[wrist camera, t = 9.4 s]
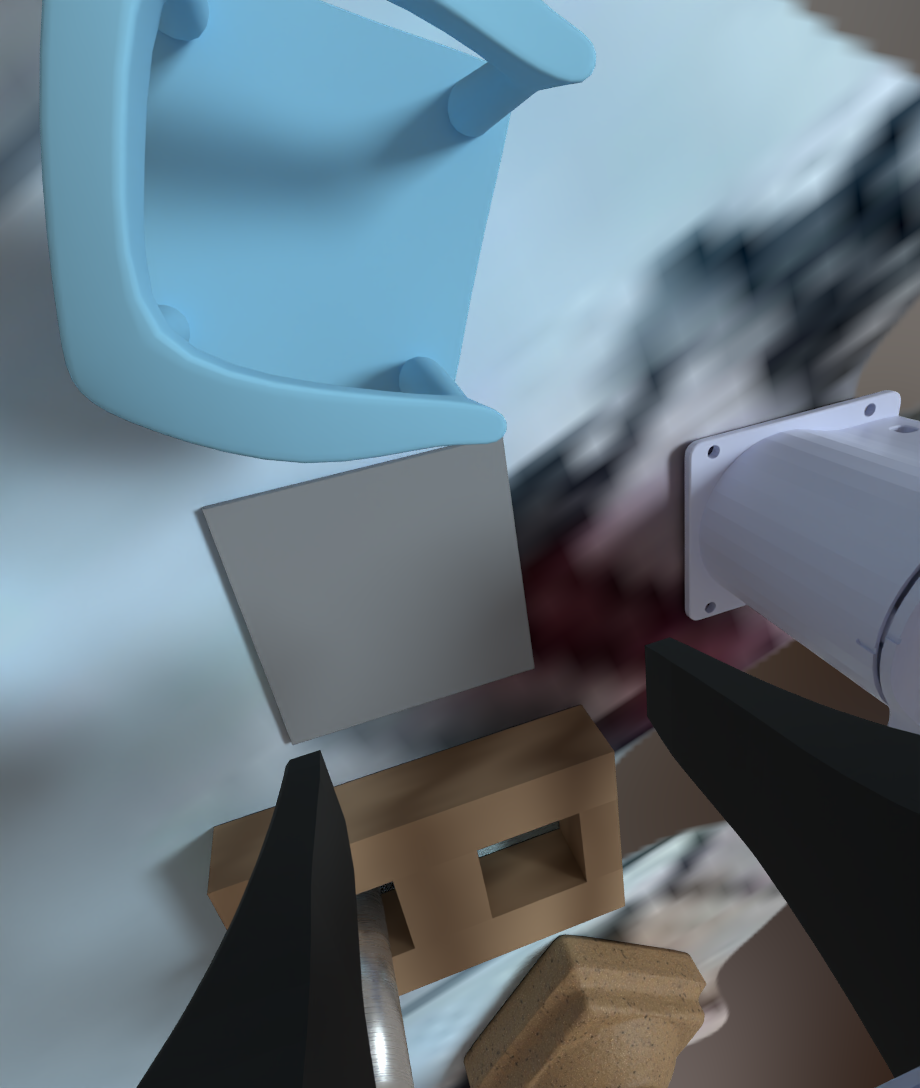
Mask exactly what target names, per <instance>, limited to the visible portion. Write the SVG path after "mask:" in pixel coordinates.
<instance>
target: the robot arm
mask: <svg viewBox="0 0 920 1088" xmlns="http://www.w3.org/2000/svg"><path fill="white" fill-rule="evenodd" d="M900 403H901V397H900V395H899V393H897V392H895V391H890V390H885V391H881V392H877V393H874V394H870V395H866V396H862V397H858V398H854V399H851V400H847V401H843V402H839V403H835V404H832V405H828V406H824V407H820V408H816V409H813V410H809V411H805V412H801V413H797V414H794V415H790V416H786V417H782V418H779V419H775V420H771V421H767V422H763V423H760V424H756V425H752V426H748V427H744V428H741V429H737V430H733V431H729V432H725V433H722V434H718V435H714V436H710V437H706V438H703V439H699V440H696V441H694V442H692V443H691V444H690V445H689V446H688V447H687V449H686V452H685V613H686V614H687V615H688V616H689V617H690V618H691V619H692V620H701V619H704V618H707V617H710V616H713V615H716V614H719V613H723V612H726V611H729V610H732V609H735V608H738V607H741V606H745V605H748V606H750V607H751V608H752V609H754V610H755V611H757V612H758V613H759V614H761V615H762V616H763V617H765V618H766V619H768V620H769V621H770V622H772V623H773V624H775V625H776V626H777V627H779V628H780V629H782V630H783V631H784V632H786V633H787V634H788V635H790V636H791V637H793V638H794V639H795V640H797V641H798V642H800V643H801V644H803V645H804V646H805V647H807V648H808V649H810V650H811V651H812V652H814V653H815V654H816V655H818V656H819V657H820V658H822V659H823V660H825V661H826V662H828V663H829V664H830V665H832V666H833V667H834V668H836V669H837V670H839V671H840V672H841V673H843V674H844V675H845V676H847V677H848V678H850V679H851V680H853V681H854V682H855V683H857V684H858V685H859V686H861V687H862V688H864V689H865V690H866V691H868V692H869V693H871V694H872V695H873V696H875V697H876V698H878V699H879V700H880V701H882V702H883V703H884V704H886V705H887V706H889V708H890V719H889V723H888V726H885V725H882V724H878V723H875V722H872V721H868V720H865V719H862V718H859V717H856V716H853V715H850V714H847V713H844V712H841V711H838V710H835V709H832V708H829V707H827V706H824V705H821V704H818V703H816V702H813V701H810V700H808V699H806V698H803V697H801V696H798V695H796V694H793V693H791V692H788V691H786V690H783V689H781V688H778V687H776V686H774V685H771V684H769V683H767V682H765V681H762V680H760V679H758V678H756V677H753V676H751V675H749V674H747V673H745V672H742V671H740V670H738V669H736V668H734V667H732V666H730V665H727V664H725V663H723V662H721V661H719V660H717V659H715V658H713V657H711V656H709V655H706V654H704V653H702V652H700V651H698V650H696V649H694V648H692V647H690V646H688V645H685V644H683V643H681V642H679V641H677V640H674V639H672V638H667V639H664V640H661V641H657V642H654V643H651V644H648V645H645V663H646V691H647V717H648V718H649V720H650V721H651V723H652V725H653V726H654V728H655V729H656V731H657V733H658V734H659V736H660V737H661V739H662V741H663V742H664V744H665V745H666V746H667V748H668V749H669V751H670V753H671V754H672V756H673V757H674V758H675V760H676V761H677V762H678V763H679V764H680V766H681V767H682V768H683V769H684V771H685V772H686V773H687V774H688V775H689V777H690V778H691V779H692V780H693V781H694V783H695V784H696V785H697V786H698V788H699V789H700V790H701V791H702V792H703V794H704V795H705V796H706V797H707V798H708V799H709V801H710V802H711V803H712V804H713V805H714V807H715V808H716V809H717V810H718V811H719V813H720V814H721V815H722V816H723V817H724V819H725V820H726V821H727V822H728V823H729V825H730V826H731V827H732V828H733V829H734V831H735V832H736V833H737V834H738V835H739V837H740V838H741V839H742V840H743V841H744V843H745V844H746V845H747V847H748V848H749V849H750V851H751V852H752V853H753V854H754V856H755V857H756V858H757V860H758V861H759V863H760V864H761V865H762V867H763V868H764V870H765V871H766V873H767V874H768V876H769V877H770V879H771V880H772V881H773V883H774V884H775V886H776V887H777V889H778V890H779V892H780V893H781V894H782V896H783V897H784V899H785V900H786V902H787V903H788V905H789V906H790V908H791V909H792V911H793V912H794V914H795V915H796V917H797V918H798V920H799V921H800V923H801V925H802V926H803V928H804V929H805V931H806V932H807V934H808V935H809V937H810V938H811V940H812V941H813V943H814V944H815V946H816V948H817V949H818V951H819V952H820V954H821V955H822V957H823V958H824V960H825V962H826V963H827V965H828V967H829V968H830V970H831V972H832V973H833V975H834V976H835V978H836V979H837V981H838V983H839V984H840V986H841V988H842V989H843V991H844V992H845V994H846V996H847V997H848V999H849V1001H850V1002H851V1004H852V1005H853V1007H854V1009H855V1011H856V1012H857V1014H858V1016H859V1017H860V1019H861V1021H862V1023H863V1024H864V1026H865V1028H866V1029H867V1031H868V1033H869V1034H870V1036H871V1038H872V1039H873V1041H874V1043H875V1045H876V1046H877V1048H878V1050H879V1052H880V1053H881V1055H882V1057H883V1058H884V1060H885V1062H886V1063H887V1065H888V1067H889V1069H890V1070H891V1072H892V1074H893V1076H894V1079H892V1080H890V1081H889V1082H886V1083H884V1084H882V1085H880V1086H878V1087H876V1088H920V421H917V420H912V419H908V418H904V417H900V416H898V415H899V409H900ZM866 407H867V409H866V411H865V408H866ZM864 411H865V412H864ZM712 446H713V447H714V448H713V451H712V453H711V454H710V455H708V450H709V449H710V447H712ZM708 603H710V604H709V605H708V607H706V605H707V604H708ZM705 607H706V608H705ZM137 1088H376V1083H375V1077H374V1070H373V1064H372V1057H371V1051H370V1044H369V1038H368V1031H367V1025H366V1018H365V1010H364V1001H363V991H362V978H361V962H360V947H359V932H358V917H357V902H356V888H355V874H354V866H353V860H352V854H351V848H350V843H349V837H348V832H347V826H346V821H345V818H344V815H343V812H342V809H341V807H340V804H339V801H338V798H337V795H336V793H335V790H334V787H333V784H332V782H331V779H330V776H329V773H328V770H327V768H326V765H325V762H324V759H323V756H322V754H321V751H320V750H319V751H316V752H313V753H309V754H306V755H303V756H300V757H297V758H294V759H291V760H289V762H288V763H287V765H286V768H285V772H284V777H283V781H282V784H281V788H280V792H279V796H278V799H277V803H276V806H275V809H274V812H273V816H272V819H271V822H270V825H269V828H268V831H267V834H266V836H265V839H264V842H263V845H262V848H261V851H260V854H259V856H258V859H257V862H256V864H255V867H254V869H253V872H252V874H251V877H250V879H249V882H248V884H247V886H246V889H245V891H244V894H243V896H242V899H241V901H240V903H239V906H238V908H237V910H236V912H235V915H234V917H233V919H232V921H231V923H230V926H229V928H228V930H227V932H226V934H225V936H224V938H223V940H222V942H221V944H220V946H219V948H218V950H217V952H216V954H215V956H214V958H213V960H212V962H211V964H210V966H209V968H208V970H207V971H206V973H205V975H204V977H203V979H202V981H201V982H200V984H199V986H198V988H197V990H196V992H195V993H194V995H193V997H192V999H191V1001H190V1002H189V1004H188V1006H187V1008H186V1009H185V1011H184V1013H183V1015H182V1016H181V1018H180V1020H179V1021H178V1023H177V1025H176V1026H175V1028H174V1030H173V1031H172V1033H171V1034H170V1036H169V1038H168V1039H167V1041H166V1042H165V1044H164V1045H163V1047H162V1049H161V1050H160V1052H159V1053H158V1055H157V1056H156V1058H155V1060H154V1061H153V1063H152V1064H151V1066H150V1067H149V1069H148V1071H147V1072H146V1074H145V1075H144V1077H143V1078H142V1080H141V1082H140V1083H139V1085H138V1086H137Z"/></svg>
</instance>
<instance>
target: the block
mask: <svg viewBox="0 0 920 1088" xmlns="http://www.w3.org/2000/svg"><path fill="white" fill-rule="evenodd" d="M334 790H335V793H336V795H337V798H338V801H339V804H340V807H341V809H342V812H343V815H344V818H345V821H346V826H347V832H348V837H349V843H350V848H351V854H352V860H353V866H354V874H355V888H356V895H357V894H359V893H362V892H365V891H367V890H370V889H373V888H376V887H378V886H381V885H384V884H387V883H389V882H392V881H393V883H394V886H395V889H394V890H391V891H389V892H386V893H383V894H381V896H382V901H383V907H384V913H385V919H386V925H387V931H388V937H389V943H390V948H391V954H392V960H393V966H394V972H395V978H396V984H397V990H398V995H399V996H400V995H403V994H405V993H408V992H410V991H413V990H415V989H418V988H420V987H423V986H425V985H428V984H430V983H433V982H435V981H438V980H440V979H443V978H445V977H448V976H450V975H453V974H455V973H458V972H461V971H463V970H466V969H468V968H471V967H473V966H476V965H478V964H481V963H483V962H486V961H488V960H491V959H493V958H496V957H498V956H501V955H503V954H506V953H508V952H511V951H513V950H516V949H518V948H521V947H523V946H526V945H528V944H531V943H533V942H536V941H538V940H541V939H543V938H546V937H548V936H551V935H553V934H556V933H558V932H561V931H563V930H566V929H568V928H571V927H573V926H576V925H578V924H581V923H583V922H586V921H588V920H591V919H593V918H596V917H599V916H601V915H604V914H606V913H609V912H611V911H614V910H616V909H619V908H621V907H624V906H625V898H624V884H623V870H622V856H621V842H620V829H619V828H620V827H619V813H618V799H617V785H616V771H615V757H614V750H613V749H612V748H611V746H610V745H609V743H608V742H607V740H606V739H605V738H604V736H603V735H602V733H601V732H600V731H599V729H598V728H597V726H596V725H595V723H594V722H593V721H592V719H591V718H590V716H589V715H588V713H587V712H586V711H585V709H584V708H583V706H582V705H579V706H576V707H573V708H570V709H567V710H564V711H561V712H558V713H555V714H552V715H549V716H546V717H543V718H540V719H537V720H534V721H531V722H528V723H525V724H522V725H519V726H516V727H513V728H510V729H507V730H504V731H501V732H498V733H495V734H492V735H489V736H486V737H483V738H480V739H477V740H474V741H471V742H468V743H465V744H462V745H459V746H456V747H453V748H450V749H447V750H444V751H441V752H438V753H435V754H432V755H429V756H426V757H423V758H420V759H417V760H414V761H411V762H408V763H405V764H402V765H399V766H396V767H393V768H390V769H387V770H384V771H381V772H378V773H375V774H372V775H369V776H366V777H363V778H360V779H357V780H354V781H351V782H348V783H345V784H342V785H339V786H336V787H334ZM274 809H275V807H273V808H270V809H267V810H264V811H261V812H258V813H255V814H252V815H249V816H246V817H243V818H240V819H237V820H234V821H231V822H228V823H225V824H222V825H219V826H216V827H214V831H213V841H212V851H211V861H210V871H209V881H208V891H207V895H208V896H209V898H210V900H211V902H212V904H213V906H214V907H215V909H216V911H217V913H218V915H219V917H220V918H221V920H222V922H223V924H224V926H225V927H226V929H227V930H228V928H229V926H230V923H231V921H232V919H233V917H234V915H235V912H236V910H237V908H238V906H239V903H240V901H241V899H242V896H243V894H244V891H245V889H246V886H247V884H248V882H249V879H250V877H251V874H252V872H253V869H254V867H255V864H256V862H257V859H258V856H259V854H260V851H261V848H262V845H263V842H264V839H265V836H266V834H267V831H268V828H269V825H270V822H271V819H272V816H273V812H274ZM556 821H559V827H560V829H557V830H554V831H552V832H549V833H546V834H543V835H541V836H538V837H535V838H533V839H530V840H527V841H524V842H522V843H519V844H516V845H514V846H511V847H508V848H505V849H503V850H500V851H497V852H495V853H492V854H489V855H486V856H484V857H481V858H479V857H478V853H477V850H480V849H482V848H485V847H488V846H491V845H493V844H496V843H499V842H502V841H504V840H507V839H510V838H512V837H515V836H518V835H521V834H523V833H526V832H529V831H532V830H534V829H537V828H540V827H543V826H545V825H548V824H551V823H554V822H556Z"/></svg>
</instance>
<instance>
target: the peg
mask: <svg viewBox="0 0 920 1088" xmlns="http://www.w3.org/2000/svg"><path fill="white" fill-rule="evenodd" d="M356 902H357V917H358V932H359V947H360V962H361V978H362V991H363V1001H364V1010H365V1018H366V1025H367V1031H368V1038H369V1044H370V1051H371V1057H372V1064H373V1070H374V1077H375V1083H376V1088H414V1084H413V1078H412V1072H411V1066H410V1060H409V1054H408V1048H407V1043H406V1037H405V1031H404V1025H403V1019H402V1013H401V1007H400V1001H399V995H398V990H397V984H396V978H395V972H394V966H393V960H392V954H391V948H390V943H389V937H388V931H387V925H386V919H385V913H384V907H383V901H382V896H381V890H380V886H378V887H376V888H373V889H370V890H367V891H365V892H362V893H359V894H357V895H356Z"/></svg>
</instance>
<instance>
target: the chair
mask: <svg viewBox="0 0 920 1088" xmlns="http://www.w3.org/2000/svg"><path fill="white" fill-rule="evenodd" d="M387 1H389V2H391V3H393V4H396V5H398V6H400V7H402V8H404V9H406V10H408V11H410V12H411V13H413V14H415V15H416V16H418V17H420V18H422V19H423V20H425V21H427V22H428V23H430V24H432V25H434V26H435V27H437V28H439V29H440V30H442V31H444V32H446V33H447V34H449V35H450V36H452V37H453V38H455V39H456V40H458V41H459V42H461V43H462V44H464V45H465V46H467V47H468V48H470V49H471V50H473V51H474V52H476V53H477V54H478V55H480V56H481V57H482V58H484V59H485V60H486V61H485V60H482V59H479V58H477V57H474V56H471V55H469V54H466V53H464V52H461V51H458V50H456V49H453V48H450V47H447V46H445V45H442V44H439V43H436V42H433V41H430V40H427V39H424V38H421V37H419V36H416V35H413V34H410V33H407V32H404V31H401V30H398V29H396V28H393V27H390V26H387V25H384V24H381V23H378V22H376V21H373V20H370V19H368V18H365V17H362V16H360V15H357V14H355V13H352V12H349V11H347V10H344V9H341V8H339V7H336V6H333V5H331V4H328V3H326V2H323V1H320V0H42V19H41V40H40V112H39V117H40V139H41V161H42V181H43V193H44V205H45V217H46V229H47V239H48V248H49V256H50V265H51V274H52V282H53V289H54V297H55V304H56V311H57V318H58V325H59V331H60V338H61V344H62V349H63V353H64V358H65V362H66V366H67V369H68V371H69V374H70V376H71V379H72V381H73V382H74V384H75V385H76V386H77V388H78V389H79V391H80V392H81V393H82V394H83V395H84V396H86V397H87V398H88V399H89V400H90V401H91V402H93V403H94V404H96V405H98V406H99V407H101V408H103V409H104V410H106V411H107V412H109V413H112V414H114V415H116V416H118V417H120V418H123V419H125V420H127V421H129V422H132V423H134V424H137V425H140V426H142V427H145V428H148V429H150V430H153V431H156V432H159V433H162V434H165V435H168V436H171V437H174V438H177V439H180V440H183V441H186V442H190V443H193V444H197V445H201V446H204V447H208V448H212V449H216V450H219V451H223V452H228V453H233V454H238V455H244V456H249V457H254V458H259V459H265V460H276V461H287V462H299V463H319V462H342V461H351V460H359V459H366V458H374V457H381V456H386V455H392V454H398V453H403V452H409V451H414V450H420V449H426V448H432V447H438V446H451V445H475V444H489V443H493V442H497V441H498V440H499V439H501V438H502V437H503V436H504V434H505V432H506V430H507V423H506V421H505V419H504V417H503V415H502V414H500V413H499V412H497V411H496V410H494V409H492V408H490V407H487V406H485V405H483V404H480V403H478V402H476V401H473V400H471V399H469V398H467V397H466V396H465V394H464V393H463V392H462V390H461V389H460V388H459V387H458V385H457V384H456V383H455V378H456V373H457V369H458V364H459V359H460V353H461V348H462V343H463V337H464V332H465V326H466V321H467V316H468V310H469V305H470V299H471V294H472V289H473V285H474V280H475V275H476V270H477V265H478V261H479V256H480V251H481V246H482V241H483V237H484V232H485V227H486V223H487V218H488V214H489V210H490V205H491V201H492V197H493V192H494V188H495V184H496V179H497V175H498V170H499V166H500V162H501V157H502V153H503V148H504V143H505V139H506V134H507V129H508V124H509V119H510V115H511V111H513V110H514V109H515V108H516V107H518V106H519V105H520V104H521V103H523V102H524V101H525V100H526V99H528V98H529V97H530V96H531V95H533V94H534V93H535V92H537V91H538V90H543V89H548V88H552V87H558V86H563V85H568V84H574V83H580V82H582V81H584V80H585V79H586V78H588V77H589V76H590V75H591V74H592V72H593V70H594V67H595V65H596V53H595V50H594V47H593V44H592V42H591V41H590V40H589V39H588V38H587V37H586V36H585V35H584V33H582V32H581V31H580V30H578V29H577V28H576V27H574V26H573V25H572V24H571V23H569V22H568V21H567V20H565V19H564V18H563V17H561V16H560V15H559V14H557V13H556V12H555V11H553V10H552V9H551V8H550V7H549V6H548V5H546V4H545V3H544V2H543V1H542V0H387ZM487 61H488V62H487Z"/></svg>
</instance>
